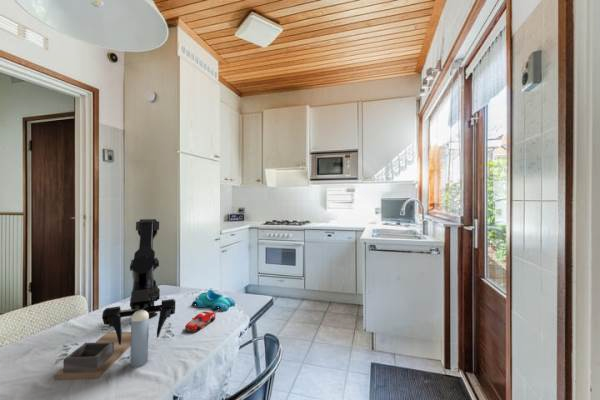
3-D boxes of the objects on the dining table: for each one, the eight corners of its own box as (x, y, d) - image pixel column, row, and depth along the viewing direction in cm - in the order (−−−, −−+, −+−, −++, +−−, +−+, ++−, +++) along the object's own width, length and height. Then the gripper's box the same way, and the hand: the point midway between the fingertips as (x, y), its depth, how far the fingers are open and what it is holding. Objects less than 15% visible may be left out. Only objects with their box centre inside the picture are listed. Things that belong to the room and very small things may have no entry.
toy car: (205, 298, 127) (205, 284, 127) (238, 304, 121) (238, 289, 121) (189, 307, 117) (189, 292, 117) (224, 313, 111) (224, 297, 111)
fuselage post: (126, 364, 76) (128, 311, 76) (142, 356, 80) (143, 306, 79) (135, 369, 74) (136, 315, 73) (151, 361, 77) (152, 309, 77)
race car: (193, 335, 93) (193, 324, 93) (181, 332, 95) (182, 321, 95) (218, 319, 105) (218, 309, 105) (207, 316, 107) (207, 307, 107)
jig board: (107, 335, 91) (107, 322, 91) (141, 335, 92) (141, 321, 92) (53, 379, 69) (54, 361, 69) (98, 378, 70) (99, 360, 70)
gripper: (104, 280, 76) (94, 337, 66) (175, 273, 84) (176, 323, 74) (108, 298, 83) (100, 352, 73) (174, 290, 91) (174, 337, 82)
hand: (139, 340), depth 75 cm, fingers open, 9 cm apart
